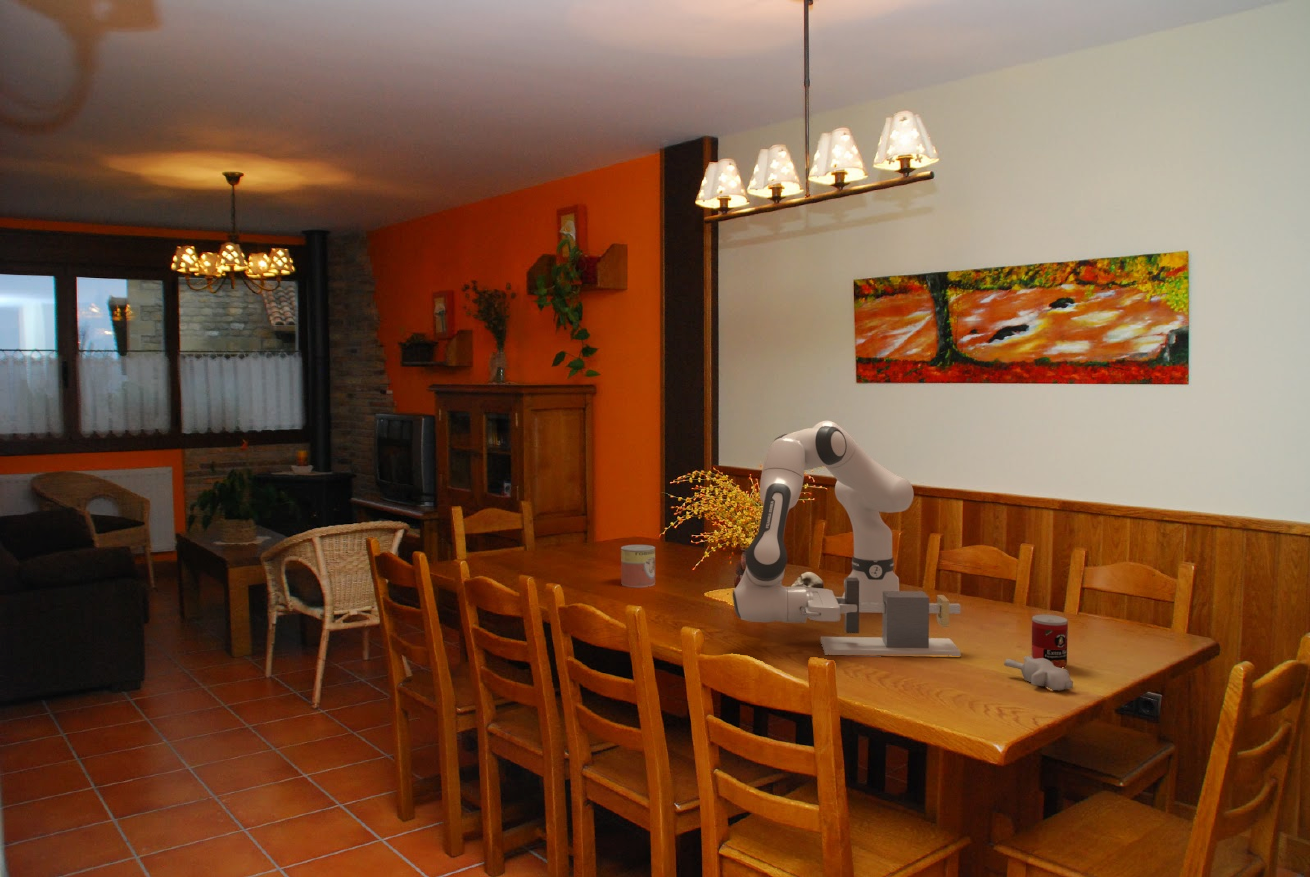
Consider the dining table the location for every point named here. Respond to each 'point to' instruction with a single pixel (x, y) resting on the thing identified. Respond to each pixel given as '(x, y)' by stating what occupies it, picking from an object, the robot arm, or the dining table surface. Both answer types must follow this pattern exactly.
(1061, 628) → the canned food
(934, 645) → the base plate
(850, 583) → the shaft
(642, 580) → the canned food
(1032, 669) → the bunny figurine
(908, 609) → the block
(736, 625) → the dining table surface
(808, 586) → the skull
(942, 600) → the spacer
